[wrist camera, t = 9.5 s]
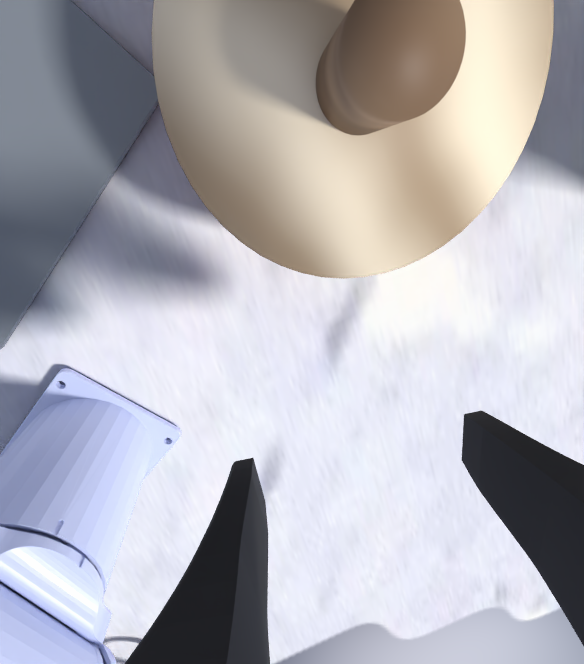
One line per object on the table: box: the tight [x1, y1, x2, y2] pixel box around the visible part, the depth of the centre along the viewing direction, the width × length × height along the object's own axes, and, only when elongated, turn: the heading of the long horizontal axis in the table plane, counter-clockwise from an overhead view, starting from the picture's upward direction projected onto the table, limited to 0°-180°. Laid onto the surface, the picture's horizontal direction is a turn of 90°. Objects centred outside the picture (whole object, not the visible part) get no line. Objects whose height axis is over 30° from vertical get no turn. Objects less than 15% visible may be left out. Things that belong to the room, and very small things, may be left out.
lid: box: [152, 0, 554, 278], centre depth 10 cm, size 13×13×4 cm
